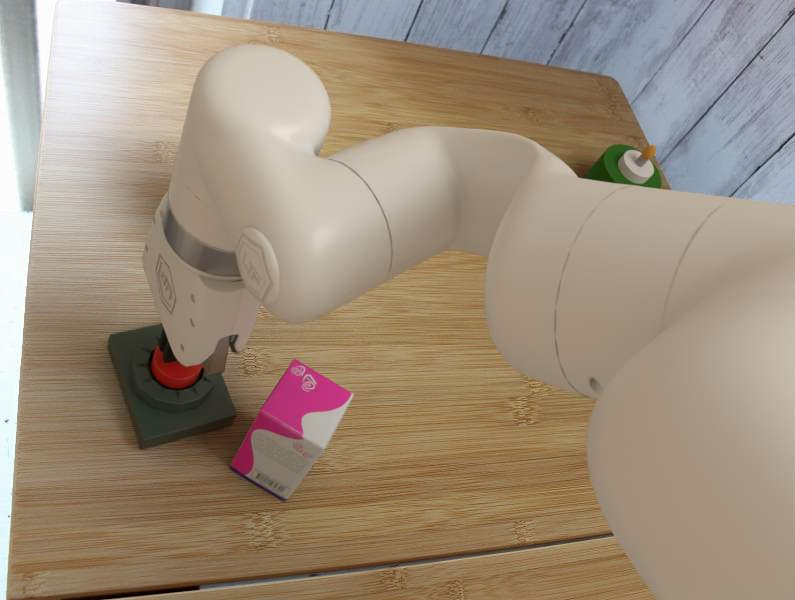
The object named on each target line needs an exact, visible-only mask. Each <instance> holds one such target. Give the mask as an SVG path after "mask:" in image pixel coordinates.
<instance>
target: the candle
mask: <svg viewBox="0 0 795 600" xmlns="http://www.w3.org/2000/svg"><path fill="white" fill-rule="evenodd" d="M656 153H657V146H656V145H654V144H650V145H648V146H646V147H645V148H644V149H643V150H642V151H641V150H639V149H637V148H636V147H634V146H631V145H627V144H621V143H617V144H612V145H610V146H609V147H607V148H606V150H604V151H603V153H602V154H601V155H600V156H599V158H598V159H597V160H596V161H595V162H594V164H593V165H592V166H591V167H590V168H589V169H588V170H587V172H586V173H585V174H584V175H583V176H582V178H583V179H590V180H596V181H603V182H610V183H617V184H627V185H637V186H642V187H649V188H657V189H662V185H663V182H662V176H661V174H660V172H659V171H660V170H659V169H658V167H657V166H656V164H655V163H654V162H653V161H652V160H651V159H653V158H654V157H655V155H656Z"/></svg>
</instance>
